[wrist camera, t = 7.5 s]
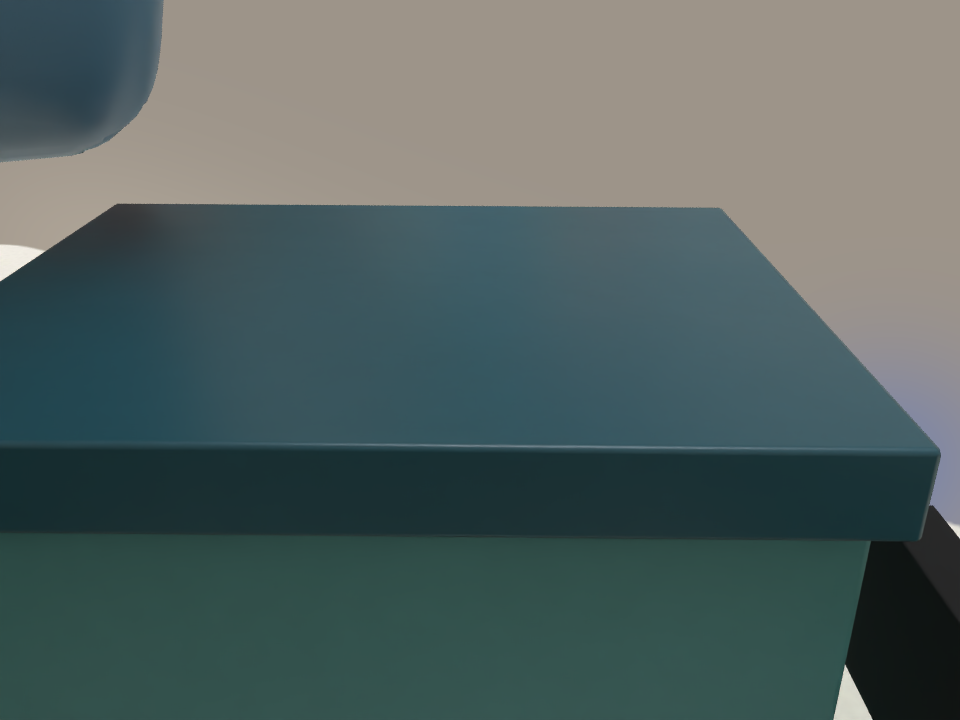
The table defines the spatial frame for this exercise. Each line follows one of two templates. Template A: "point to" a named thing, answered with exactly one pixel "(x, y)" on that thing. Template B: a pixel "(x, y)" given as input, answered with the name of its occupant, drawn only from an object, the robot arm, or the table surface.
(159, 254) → the teal box
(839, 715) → the table surface
